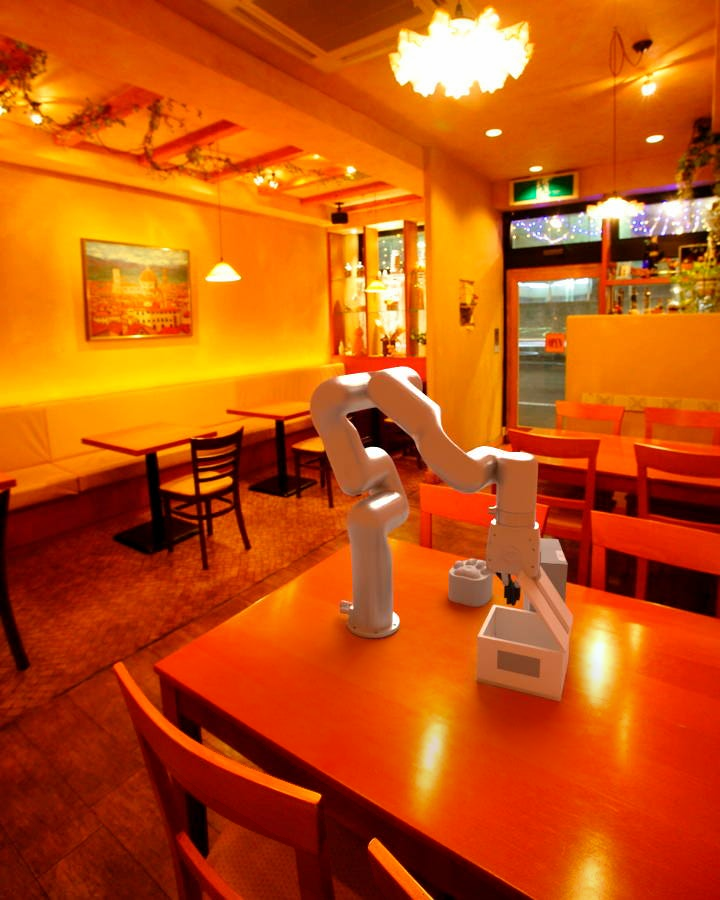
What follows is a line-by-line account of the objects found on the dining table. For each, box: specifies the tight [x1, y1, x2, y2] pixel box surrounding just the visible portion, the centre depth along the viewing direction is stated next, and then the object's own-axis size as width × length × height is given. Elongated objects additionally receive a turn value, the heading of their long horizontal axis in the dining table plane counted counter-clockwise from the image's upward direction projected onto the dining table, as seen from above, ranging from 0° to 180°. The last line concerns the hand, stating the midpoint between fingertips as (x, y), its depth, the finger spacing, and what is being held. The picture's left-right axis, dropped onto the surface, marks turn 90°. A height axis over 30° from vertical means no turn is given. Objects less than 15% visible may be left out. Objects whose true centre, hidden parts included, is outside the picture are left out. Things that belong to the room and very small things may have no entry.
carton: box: [476, 604, 571, 702], centre depth 116 cm, size 16×14×10 cm
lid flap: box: [515, 566, 574, 653], centre depth 112 cm, size 16×14×1 cm
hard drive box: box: [522, 537, 569, 612], centre depth 131 cm, size 16×8×20 cm, turn 168°
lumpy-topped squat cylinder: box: [448, 558, 494, 608], centre depth 150 cm, size 10×13×9 cm
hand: (511, 602), depth 115 cm, fingers closed
